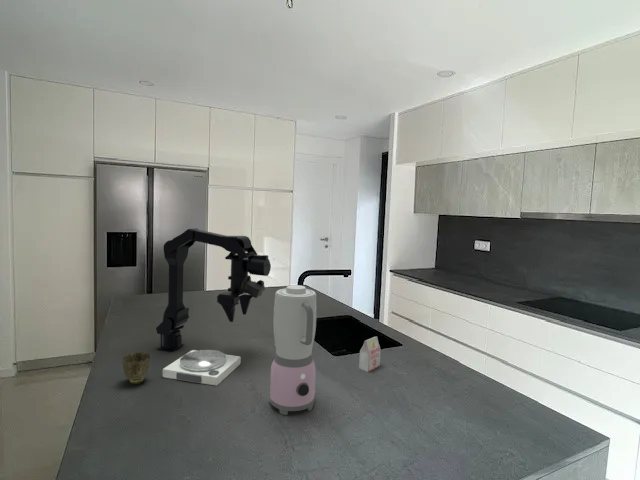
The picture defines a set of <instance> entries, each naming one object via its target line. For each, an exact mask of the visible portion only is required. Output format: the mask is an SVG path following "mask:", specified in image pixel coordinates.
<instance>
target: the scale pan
mask: <svg viewBox="0 0 640 480" xmlns="http://www.w3.org/2000/svg"><path fill="white" fill-rule="evenodd" d="M187 353H188V352H187ZM187 353H185V354H186V355H185V354H184V355H182V356H183V357H182V356H181V357H182V358H181V357H180V358H181V359H180V366H181V367H182V368H184V369H187V370H191V371H206V370H212V369H215V368H218V367H220V366H222V365H223V364H224V363H225V362H226V355H227V354H226V353H224V352H222V351H220V350H215V349H200V350H196V351H194V352H191V353H188V354H187Z"/></svg>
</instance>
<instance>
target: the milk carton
mask: <svg viewBox="0 0 640 480" xmlns="http://www.w3.org/2000/svg"><path fill="white" fill-rule="evenodd" d="M381 352H382V351H381V346H380V344H379V339H378V336H373V337H371V338H368V339H366V340H364V342H363V345H362V347H361V348H360V350H359V359H358V360H359V361H358V363H359V364H358V369H359V370H362V371H364V372H366V373H369V372H371V371H373V370H375V369H377V368H379V367H380V365H381Z"/></svg>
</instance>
